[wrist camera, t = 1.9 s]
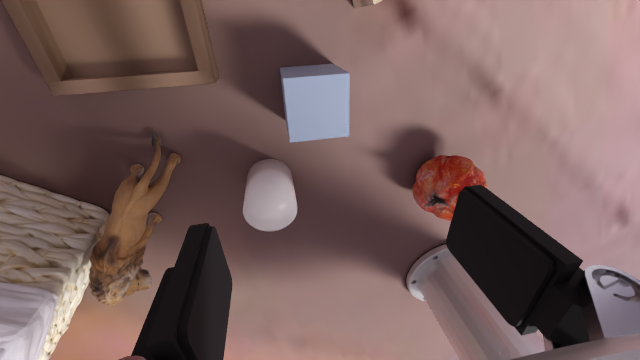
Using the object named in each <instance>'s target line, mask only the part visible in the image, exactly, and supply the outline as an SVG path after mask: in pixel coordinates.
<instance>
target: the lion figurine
mask: <svg viewBox="0 0 640 360" xmlns="http://www.w3.org/2000/svg"><path fill="white" fill-rule="evenodd" d="M160 142H161V139H160V137H159V134H158V133H156V132H153V133H152V145H153V147H154V152H155V153H154V159H153V161H152V163H151V165H150V167H149V169H148V170H147V172H146V173H145V175H144V176H143V178H142V179H141V180H140V175H141V174H142V173H143V172H144V167H143V166H142V165H140V164H134V165H132V166H131V168H130V171H131V174H130V175H129V176H128V177H127V178H126V179H125V180H123V181H122V182H121V184H120V186H119V188H118V189H117V191H116V193H115V196H114V200H113V204H112V212H111V214H110V216H109V218H108V220H107V222H106V224H105V229H104V234H103V236H102V238H101V240H100V241H99V242H98V243H97V244H96V245H95V246H94V247H93V250H92V253H91V255H90V262H91V267H90V269H89V271H90V273H89V279H90V281H91V283H90V288H91V289H92V291H91V293H92V295H93V296H95V297H96V298H97V299H98V301H99V302H101V303H105V304H107V305H111V306H113V305H115V304H116V303H119V302H121V301H122V300H123V298H124V296H126V295H131V294H133V293H134V292H135V291H139V290H145V289H148V288H150V287H151V285H152V284H151V276H150V275H149V270H144V269H141V268H140V267H141V265H142V264H143V260H142V257H143V255H144V251H145V244H146V241H147V240H148V238H149V237H150V235H151V233H152V230H153V225H154V224H155V223H159V222H160V221H161V220H162V217H161V216H160V215H159V214H158V213H150V214H149V215H148V212H149V211H150V210H151V209H152V208H153V207H154V206H155V205H156V203H157V202H158V201H159V199H160V198H161V196H162V195H163V194H164V192H165V190H166V188H167V186H168V183H169V180H170V177H171V174H172V171H173V169H174V168H175V165H177V164H179V163H180V161H181V157H180V156H179V155H178V154H176V153H171V154H170V155H169V157H168V160H167V162H166V164H165V167H164V171H163V173H162V175H161V176H160V177H159V178H158V179H157V180H156V181H155V182H153V183H152V184H150V185H149V183H150V181H151V179H152V177H153V175H154V173H155V171H156V169H157V167H158V165H159V162H160V158H161V149H160Z"/></svg>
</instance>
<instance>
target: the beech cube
mask: <svg viewBox="0 0 640 360" xmlns="http://www.w3.org/2000/svg"><path fill="white" fill-rule="evenodd" d="M380 1H382V0H352V2H353V5H354V8H358V7H363V6H369V5H374V4H376V3H378V2H380Z"/></svg>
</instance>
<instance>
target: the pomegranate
mask: <svg viewBox="0 0 640 360" xmlns="http://www.w3.org/2000/svg"><path fill="white" fill-rule="evenodd" d="M472 185H482V186H484V187H485V188H486V186H487V185H486V180H485V178H484V174H483V172H482V171H481V170H479V169H478V168H477V167H475V166H474V164H473V162H472V161H471V160H470V159H468V158H465V157H461V156H444V155H439V156H437V157H434V158H432V159H430V160H428V161H427V162H425V163H424V164H423V165H422V166H421V167H420V168H419V170H418V171H417V174H416V182H415V184H414V186H413V196H414V199H415V201H416V203H417V204H418V205H419V206H420V207H421V208H423V209H424V210H425V211H428V212H432V213H434V214H435V215H436V216H437V217H439V218H442V219H445V220H451V221H452V217H453V213H454V210H455V206H456V202H457V199H458V195H459V192H460V191H462V189H463V188H464V187H466V186H472Z"/></svg>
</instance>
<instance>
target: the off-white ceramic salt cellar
mask: <svg viewBox="0 0 640 360" xmlns="http://www.w3.org/2000/svg"><path fill="white" fill-rule="evenodd" d="M296 214H297V202H296V196H295V190H294V184H293V178H292V173H291V171H290V169H289V167H288V166H287V165H286V164H284V163H283V162H281V161H279V160H276V159H264V160H261V161H258V162H257V163H255V164H254V165H253V166H252V167H251V168H250V170H249V172H248V175H247V182H246V189H245V197H244V204H243V215H244V217H245V219H246V221H247V222H248V223H249V224H250V225H251V226H252V227H254V228H256V229H259V230H262V231H277V230H280V229H283V228H285V227H287V226H288V225H289V224H290V223H292V221H293V220H294V219H295V217H296Z"/></svg>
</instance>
